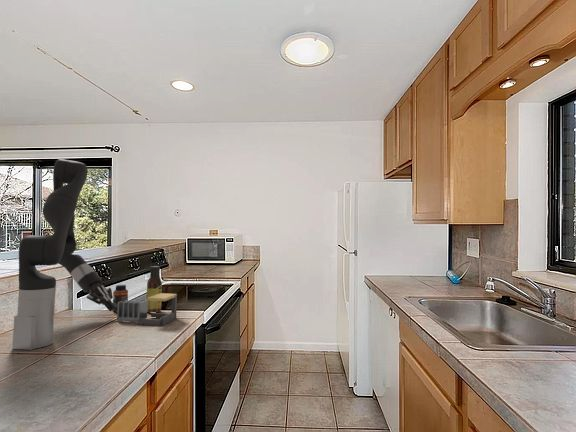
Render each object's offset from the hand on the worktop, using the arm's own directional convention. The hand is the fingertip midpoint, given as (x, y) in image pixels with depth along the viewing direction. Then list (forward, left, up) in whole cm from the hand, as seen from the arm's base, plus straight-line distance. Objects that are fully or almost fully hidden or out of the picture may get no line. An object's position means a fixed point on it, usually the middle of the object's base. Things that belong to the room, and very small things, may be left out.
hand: (113, 309), depth 138 cm
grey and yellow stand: (0, -18, -4) cm, 19 cm away
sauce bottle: (+15, -9, -4) cm, 18 cm away
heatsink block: (0, -8, -4) cm, 9 cm away
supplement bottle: (+14, +6, -4) cm, 16 cm away
